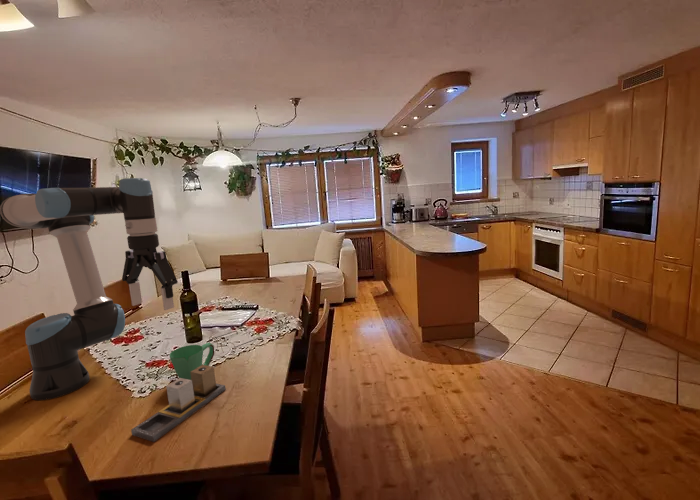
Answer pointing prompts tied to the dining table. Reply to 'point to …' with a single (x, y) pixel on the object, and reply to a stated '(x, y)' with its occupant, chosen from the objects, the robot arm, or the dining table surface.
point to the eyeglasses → (230, 342)
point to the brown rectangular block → (203, 380)
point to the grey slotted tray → (171, 418)
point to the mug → (190, 359)
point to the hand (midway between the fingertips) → (152, 306)
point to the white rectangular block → (180, 395)
